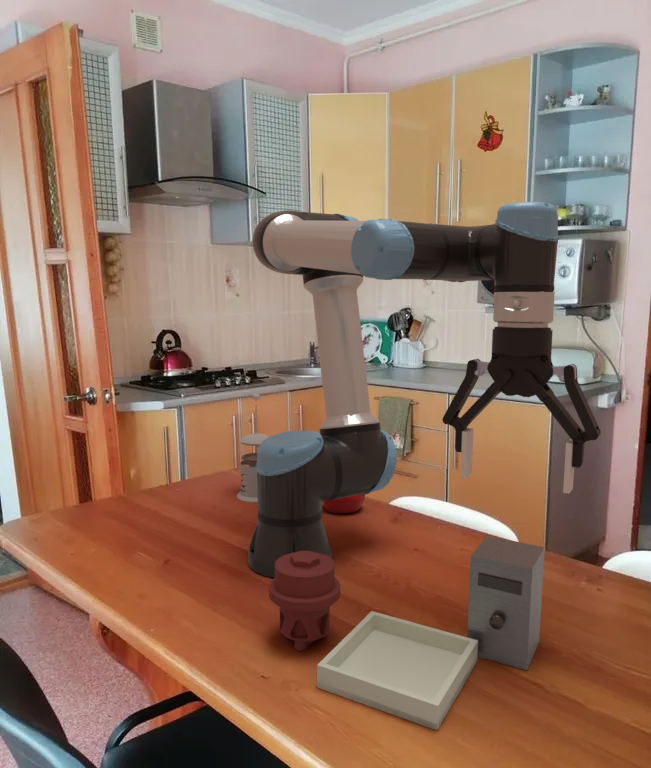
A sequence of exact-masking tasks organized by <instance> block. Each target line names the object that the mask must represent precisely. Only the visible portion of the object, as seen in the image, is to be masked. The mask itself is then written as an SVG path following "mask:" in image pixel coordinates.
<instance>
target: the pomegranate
mask: <svg viewBox="0 0 651 768" xmlns="http://www.w3.org/2000/svg"><path fill="white" fill-rule="evenodd" d="M365 499H366V495H361V494H359V495H354V496H349V497H344V498H339V499H334V500H328V501H324V502H322V504H323V506H324V508H325V510H326V511H327V512H330V513H333V514H334V513H335V514H352V513H355V512H356V511H358V510H359V509H360V508H361V507H362V506H363V504H364V502H365Z"/></svg>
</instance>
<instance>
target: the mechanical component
mask: <svg viewBox="0 0 651 768" xmlns="http://www.w3.org/2000/svg"><path fill="white" fill-rule="evenodd" d="M335 564H336V563H335V561H334V560H333V558H332V557H331V558H330V557H328V556H326V555H323V554H320V553H316V552H312V551H298V552H295V553H290V554H287V555H284V556H282V557H280V558H279V559H278V560H277V561H276V562H275V578H273V579H272V580H270V581H269V584H268V597H269V599H270V601H271V602H272V603H273V604H275V605H276V606H277V607H279V631H280V633H281V634H282V635H283V637H285V638H287V639H289V640H291V641H294V643H293V644H294V646H293V648H294V649H295V650H296V651H297V652H303V651H305V650H306V649H307V648H308V646H309V645H311V644H312V643H314V642H316V641H318V640H321V639H323V638H325V637H327V636H328V634H329V631H330V615H331V614H330V611H331V610H330V608H331V607H332V606H334V604H335V603H337V602H338V601H339V599H340V597H341V583H340V581H339V579H338V578H336V576H335V574H336V573H335V572H336V570H335V569H336V567H335V566H336V565H335Z"/></svg>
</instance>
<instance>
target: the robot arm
mask: <svg viewBox="0 0 651 768" xmlns="http://www.w3.org/2000/svg"><path fill="white" fill-rule="evenodd" d="M496 213H497V215H496V219H495V223H492V224H487V225H486V224H485V225H475V226H474V225H473V226H466V225H465V226H464V225H452V224H439V223H424V222H414V221H405V220H404V221H403V220H397V219H391V218H389V219H388V218H378V219H375V218H374V219H368V220H359V219H358V218H356V217H353V216H349V215H344V214H341V213H333V214H332V213H324V212H322V213H321V212H312V211H311V212H310V211H309V212H308V211H296V210H283V211H275V212H272V213H269V214H268V215H266V216H264V218H262V219H261V220H260V221H259V222H258V224H257V225H256V227H255V228H254V231H253V235H252V247H253V252H254V255H255V257H256V258H257V260H258V261H259V262H260V264H261V265H262V266H264V267H266V268H267V269H268V270H270V271H273V272H276V273H279V274H283V275H294V276H295V275H298V276H302V282H303V287H304V289H305V290H306V291H308V292H309V293H310V294H311V295H312V301H313V302H312V303H313V311H314V318H315V319H314V321H315V328H316V330H315V331H316V338H317V345H318V355H319V363H320V365H319V367H320V374H321V382H322V391H323V393H322V394H323V401H324V409H325V410H324V411H325V419H324V420H323V422H322V423H321V424H320V426H319V427H318V428H319V432H318V431H314V430H310V429H307V430H306V429H300V430H288V431H284V432H280V433H279V432H278V433H276V434H274V435H270V436H269V437H268V438H267V439H265V440H264V441H263V442H262V443H261V444H260V446H258V447H259V448H258V447H257V453H258V456H257V464H256V470H257V499H258V502H257V522H256V526H255V528H254V531H253V535H252V537H251V541H250V544H249V548H248V552H247V553H248V554H247V555H248V556H247V557H248V559H247V560H248V563H247V564H248V566H249V567H250V569H251V570H253V572H255V573H257V574H259V575H261V576H265V577H269V578H273V579H274V578H275V562H276V561H277V560H278V559H279V558H280V557H282V556H284V555H287V554H290V553H295V552H298V551H312V552H316V553H320V554H323V555H326V556H328V557H330V558H331V559H332V547H331V544H330V541H329V538H328V535H327V532H326V529H325V526H324V523H323V502H324V501H328V500H334V499H339V498H344V497H349V496H354V495H359V494H361V495H365V496H366V495H368V494H370V493H373V492H378V491H381V490H383V489H385V487H387V486H388V485H389V484H390V482H391V480H392V479H393V477H394V474H395V472H396V470H397V469H396V468H397V457H398V456H397V448H396V445H395V442H394V440H392V436H391V435H390V434H389V433H388V432H387V431H384V430H383V429H381V423H380V420H379V419H378V418H376V417H375V416H374V415H373V414H372V413H371V405H370V404H371V403H370V395H369V386H368V377H367V370H366V361H365V360H366V359H365V352H364V343H363V334H362V325H361V317H360V308H359V299H358V288H360V286H361V285H362V284H363V282H364V277H365V278H369V279H376V280H381V281H382V280H385V281H387V280H388V281H391V280H423V281H444V282H451V283H465V282H478V281H494V289H493V291H494V292H493V314H492V315H493V316H492V319H493V322H494V323H497V326H494V327H493V328H492V335H491V336H492V339H491V359H490V361H489V362H487V361H481V360H480V359H479V358H474V359H470V360H469V361H467V363H466V371H465V376H464V378H463V379H462V382H461V384H460V386H459V387H458V389H457V391H456V393H455V395H454V396H453V398H452V400H451V402H450V404H449V406H448V408H447V409H446V411H445V413H444V414H443V417H442V420H441V421H442V423H443V424H445V425H449V426H451V427H453V429H454V432H455V436H454V437H455V438H454V450H455V452H456V453H461V455H460V456H461V457H460V459H461V460H460V478H464V479H467V477H469V476H470V475H472V474H473V452H474V451H473V450H474V428H469V426H470V424H471V423H472V422H473V421H474V420H475V419H476V418H477V417H478V416H479V415H480V414H481V413H482V412H483V411H484V410H485V408H487V406H489V404H490V403H492V401H493V400H494V399H495V398H497V396H499V394H501V393H503V395H505V396H507V397H508V396H509V397H512V396H513V397H514V396H519V397H520V396H521V397H523V398H530V397H534V396H536V397H537V399H538V400H539V401H540V402H541V403H543V404H544V406H545V407H546V409H547V410H548V411H549V412H550V413H551V415H552V416H553V417H554V419H555V420H556V421H557V422H558V424H559V425H560V426H561V428H562V429H563V430H564V432H565V433H566V434H567V436H568V437H569V439H568V441H566V442H565V453H564V455H565V456H564V470H563V471H564V472H563V473H564V474H563V487H562V488H563V489H562V493H563V494H569V495H570V493H571V492H572V491H573V490H574V477H575V468H581V467H582V465H583V464H584V457H585V443H586V442H589V441H595V440H597V439H598V438H599V437H600V436H601V433H602V432H601V428H600V426H599V425H598V422H597V420H596V418H595V415H594V414H593V412H592V409H591V407H590V405H589V403H588V401H587V398H586V396H585V394H584V392H583V390H582V388H581V385H580V384H579V380H578V367H577V365H576V364H575V363H570V364H568V365H554V364H553V361H552V347H553V345H552V344H553V333H554V332H553V329H552V328H551V327H549V324H552V323H553V322H554V313H555V311H554V310H555V276H556V264H557V254H558V244H559V243H558V242H559V238H560V237H559V224H558V221H559V220H558V210H557V208H556V207H555V205H554V204H551V203H549V202H542V201H519V202H510V203H506V204H504V205H501V206H500V207H499V208H498V210H497V212H496ZM486 371H487V372H488V374H489V375H490V377H491V379H492V380H493V382H492V383H491V384H490V385H489V386H488V387H487V388H486V390H485V392H483V393H482V395H481V396H480V397H479V398H477V400H476V401H475V402H473V404H472V405H471V406H470V407H469V408H468V409H467V410H466V411H465V412H464V414H462V415H461V417H459V414H461V411H462V410H463V407H464V406H465V404H466V402H467V400H468V398H469V397H470V394H471V393H472V391H473V389H474V388H475V386H476V383H477V382H478V380H479V378H480V377H482V376H483V375H484V374H485V372H486ZM554 376H556V377H558V380H559V381H560V383H564V387H565V389H566V392H567V394H568V396H569V398H570V401H571V403H572V405H573V407H574V409H575V411H576V414H577V416H578V418H579V420H580V422H581V424H582V427H583V429H584V430H583V429H582V428H581V427H580V425H579V424H578V423H577V421H576V420H575V419H574V418H573V416H572V415H571V414H570V413H569V411H568V409H566V407H565V406H564V405H563V404H562V403H561V401H560V400H559V399H558V397H557V396H556V394H555V393H554V391H553V389H552V388H551V387H550V386H549V384H548V382H549V381H550V380H551V378H552V377H554Z"/></svg>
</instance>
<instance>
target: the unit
mask: <svg viewBox="0 0 651 768" xmlns="http://www.w3.org/2000/svg"><path fill="white" fill-rule="evenodd" d="M545 548H546V547H545V546H540V545H536V544H529V543H525V542H520V541H514V540H510V539H505V538H504V539H503V538H498V537H494V536H489V535H486V537H485V538H484V539H483V540H482V541H481V543H479V545H478V546H477V547H476V549H475V550H474V551H473V552H472V553H471V554H470V561H469V562H470V563H469V564H470V565H469V566H470V567H469V585H468V586H469V587H468V588H469V591H468V610H467V611H468V612H467V615H468V616H467V638H471V639H474V640H478V653H477V658H481V659H485V660H488V661H492V662H495V663H498V664H502V665H505V666H509V667H513V668H517V669H520V670H524V671H525V672H526V671H528V668H529V666H530V664H531V662H532V660H533V658H534V655H535V653H536V650H537V648H538V645H539V643H540V632H541V617H542V615H541V614H542V600H543V599H542V598H543V583H544V568H545V567H544V566H545V565H544V564H545V551H546V549H545Z"/></svg>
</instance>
